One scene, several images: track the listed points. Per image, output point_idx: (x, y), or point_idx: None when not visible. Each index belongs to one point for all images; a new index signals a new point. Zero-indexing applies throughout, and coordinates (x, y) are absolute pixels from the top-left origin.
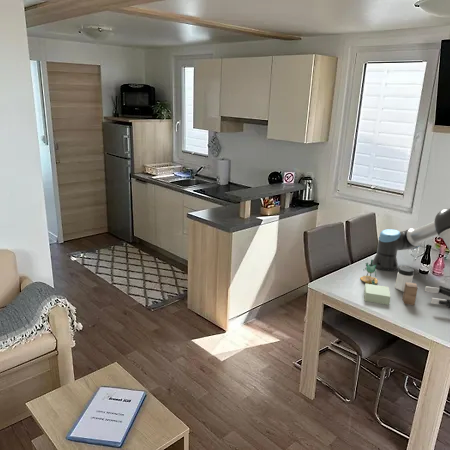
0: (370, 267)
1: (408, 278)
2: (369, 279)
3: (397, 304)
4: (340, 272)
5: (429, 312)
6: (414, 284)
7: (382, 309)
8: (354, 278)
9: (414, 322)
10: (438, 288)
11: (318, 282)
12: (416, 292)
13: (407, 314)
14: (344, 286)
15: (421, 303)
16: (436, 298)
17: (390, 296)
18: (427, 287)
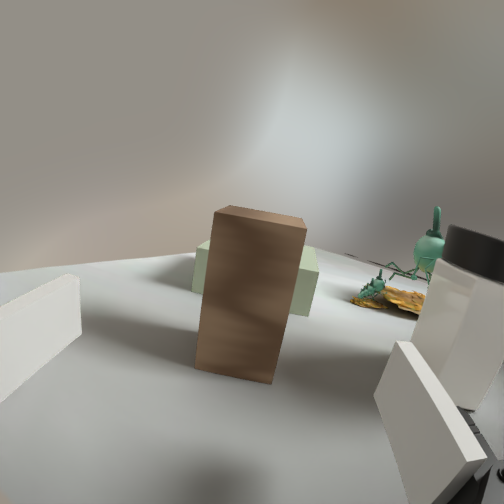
0: (420, 238)
1: (451, 289)
2: (412, 297)
3: (197, 311)
4: (417, 282)
5: (64, 392)
6: (277, 221)
7: (150, 269)
8: (402, 290)
9: (18, 286)
10: (459, 450)
11: (314, 248)
12: (208, 261)
13: (86, 299)
14: (318, 265)
15: (233, 421)
16: (44, 290)
17: (199, 248)
18: (399, 355)
